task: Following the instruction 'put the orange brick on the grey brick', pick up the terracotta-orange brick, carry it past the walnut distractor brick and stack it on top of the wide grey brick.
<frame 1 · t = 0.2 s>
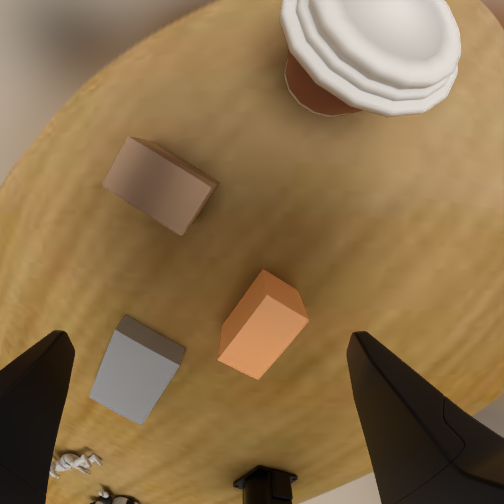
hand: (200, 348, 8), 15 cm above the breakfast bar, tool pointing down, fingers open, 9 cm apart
orange brick: (259, 308, 25), on the breakfast bar
coffee cup: (325, 78, 20), on the breakfast bar
grey brick: (137, 365, 26), on the breakfast bar
walnut brick: (173, 180, 22), on the breakfast bar
white plastic figure: (75, 454, 32), on the breakfast bar
robot toy: (123, 503, 37), on the breakfast bar
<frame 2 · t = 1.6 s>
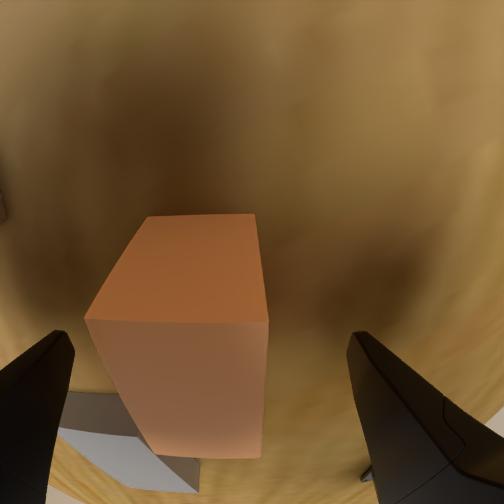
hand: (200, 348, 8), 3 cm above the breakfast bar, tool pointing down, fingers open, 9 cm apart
orange brick: (206, 292, 11), on the breakfast bar
grey brick: (137, 431, 17), on the breakfast bar
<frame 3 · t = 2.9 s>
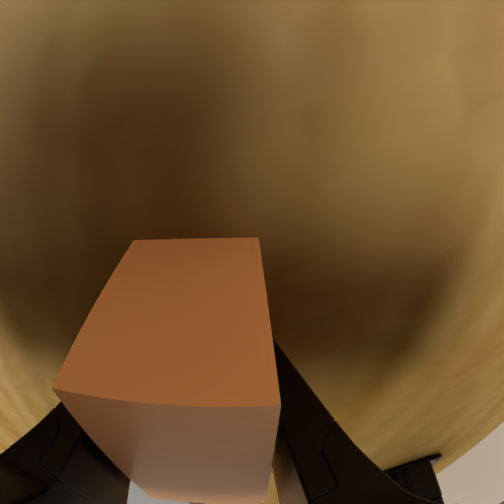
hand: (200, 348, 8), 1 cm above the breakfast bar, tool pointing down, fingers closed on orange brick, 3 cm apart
orange brick: (203, 324, 9), on the breakfast bar, touching gripper
grey brick: (134, 450, 15), on the breakfast bar
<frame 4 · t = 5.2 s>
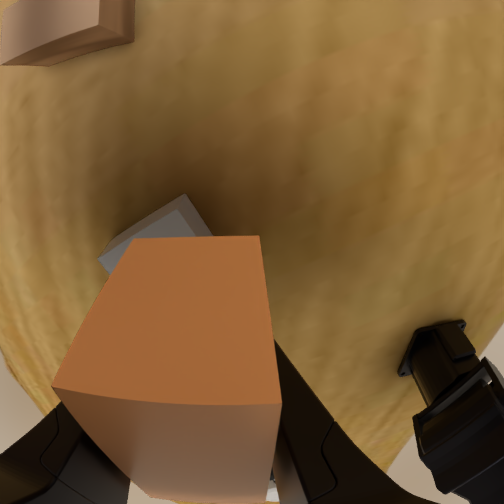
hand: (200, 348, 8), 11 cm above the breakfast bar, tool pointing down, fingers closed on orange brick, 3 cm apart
orange brick: (203, 323, 9), point 10 cm above the breakfast bar, touching gripper
grey brick: (190, 273, 20), on the breakfast bar
walnut brick: (88, 28, 12), on the breakfast bar
robot toy: (292, 467, 39), on the breakfast bar
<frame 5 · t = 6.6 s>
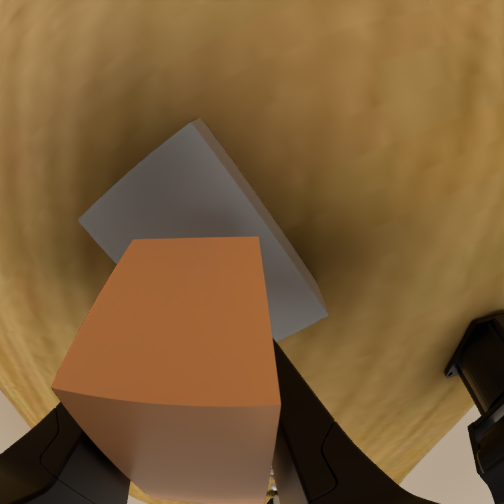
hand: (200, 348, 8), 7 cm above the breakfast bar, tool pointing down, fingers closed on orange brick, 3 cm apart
orange brick: (203, 324, 9), point 6 cm above the breakfast bar, touching gripper
grey brick: (213, 239, 15), on the breakfast bar
when the fingers open (5 cm above the breakfast bar, at t = 7.6 s): orange brick drops 2 cm, resting on grey brick.
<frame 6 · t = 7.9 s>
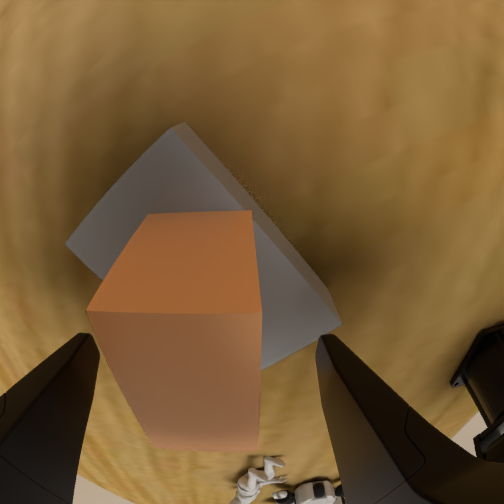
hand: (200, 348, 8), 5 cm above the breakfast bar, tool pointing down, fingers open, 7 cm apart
orange brick: (205, 289, 11), point 3 cm above the breakfast bar, touching grey brick
grey brick: (212, 250, 14), on the breakfast bar, touching orange brick
white plastic figure: (252, 470, 26), on the breakfast bar
robot toy: (308, 488, 32), on the breakfast bar
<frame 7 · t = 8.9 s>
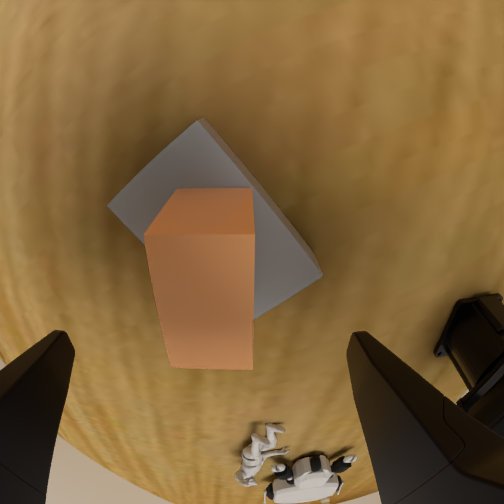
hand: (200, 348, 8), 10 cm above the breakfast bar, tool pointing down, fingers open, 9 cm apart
toy lamp: (321, 488, 43), on the breakfast bar
orange brick: (216, 247, 15), point 3 cm above the breakfast bar, touching grey brick
grey brick: (221, 218, 17), on the breakfast bar, touching orange brick
white plastic figure: (256, 441, 30), on the breakfast bar
robot toy: (305, 466, 36), on the breakfast bar
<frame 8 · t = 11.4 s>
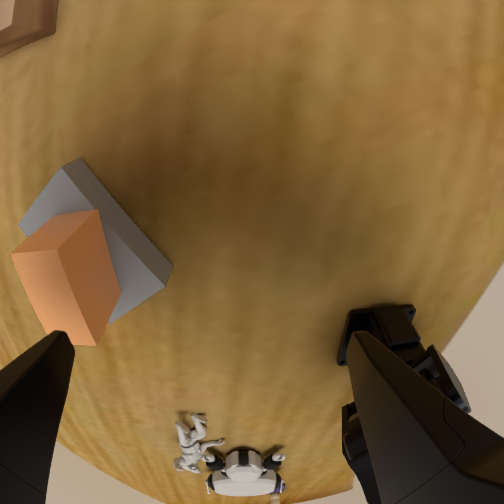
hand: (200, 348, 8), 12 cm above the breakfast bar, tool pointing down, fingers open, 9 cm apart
toy lamp: (272, 485, 46), on the breakfast bar
orange brick: (87, 255, 17), point 3 cm above the breakfast bar, touching grey brick
grey brick: (101, 234, 20), on the breakfast bar, touching orange brick
walnut brick: (25, 26, 11), on the breakfast bar
white plastic figure: (193, 431, 33), on the breakfast bar, touching robot toy
robot toy: (243, 460, 38), on the breakfast bar, touching white plastic figure
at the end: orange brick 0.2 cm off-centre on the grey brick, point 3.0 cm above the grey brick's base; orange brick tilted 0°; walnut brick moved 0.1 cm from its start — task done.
